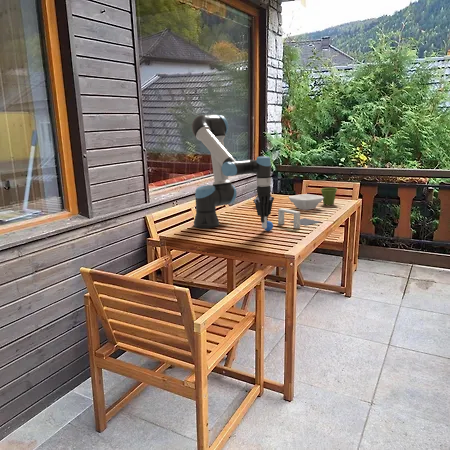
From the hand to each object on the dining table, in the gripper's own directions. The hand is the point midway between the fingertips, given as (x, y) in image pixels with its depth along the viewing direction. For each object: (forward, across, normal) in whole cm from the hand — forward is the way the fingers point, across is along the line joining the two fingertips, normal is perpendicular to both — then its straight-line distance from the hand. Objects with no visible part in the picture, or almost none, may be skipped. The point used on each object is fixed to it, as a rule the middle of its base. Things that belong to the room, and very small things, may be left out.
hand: (264, 227), depth 228 cm
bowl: (+2, +62, +29) cm, 68 cm away
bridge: (+2, +20, +2) cm, 20 cm away
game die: (+2, +42, +57) cm, 71 cm away
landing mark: (+2, +34, +2) cm, 34 cm away
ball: (0, +4, +1) cm, 4 cm away
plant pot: (+2, +86, +30) cm, 91 cm away
